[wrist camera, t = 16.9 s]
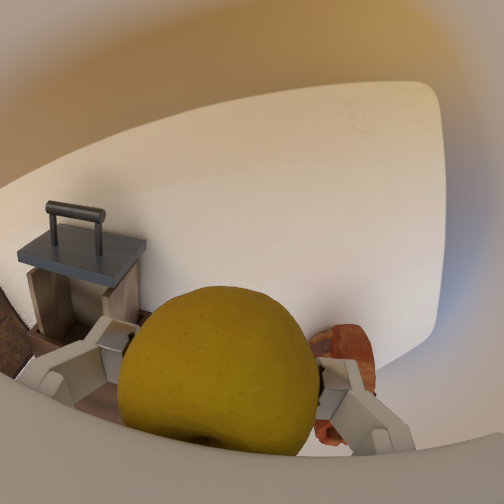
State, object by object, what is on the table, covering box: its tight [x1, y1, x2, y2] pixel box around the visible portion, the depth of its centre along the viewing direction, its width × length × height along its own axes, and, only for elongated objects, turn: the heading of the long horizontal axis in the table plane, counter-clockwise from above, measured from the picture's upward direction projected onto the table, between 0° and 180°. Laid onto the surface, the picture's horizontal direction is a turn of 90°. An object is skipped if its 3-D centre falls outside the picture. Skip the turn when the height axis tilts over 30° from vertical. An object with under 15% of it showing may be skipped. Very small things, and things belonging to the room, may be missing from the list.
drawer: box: [17, 201, 146, 345], centre depth 31 cm, size 20×13×9 cm, turn 170°
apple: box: [117, 286, 320, 456], centre depth 9 cm, size 6×6×8 cm
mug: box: [308, 324, 376, 446], centre depth 32 cm, size 15×8×15 cm, turn 178°
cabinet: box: [27, 310, 152, 426], centre depth 37 cm, size 17×14×11 cm
